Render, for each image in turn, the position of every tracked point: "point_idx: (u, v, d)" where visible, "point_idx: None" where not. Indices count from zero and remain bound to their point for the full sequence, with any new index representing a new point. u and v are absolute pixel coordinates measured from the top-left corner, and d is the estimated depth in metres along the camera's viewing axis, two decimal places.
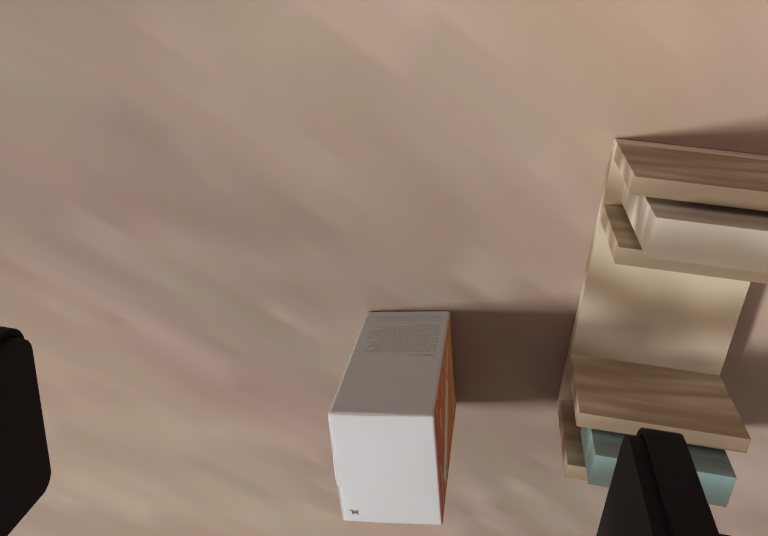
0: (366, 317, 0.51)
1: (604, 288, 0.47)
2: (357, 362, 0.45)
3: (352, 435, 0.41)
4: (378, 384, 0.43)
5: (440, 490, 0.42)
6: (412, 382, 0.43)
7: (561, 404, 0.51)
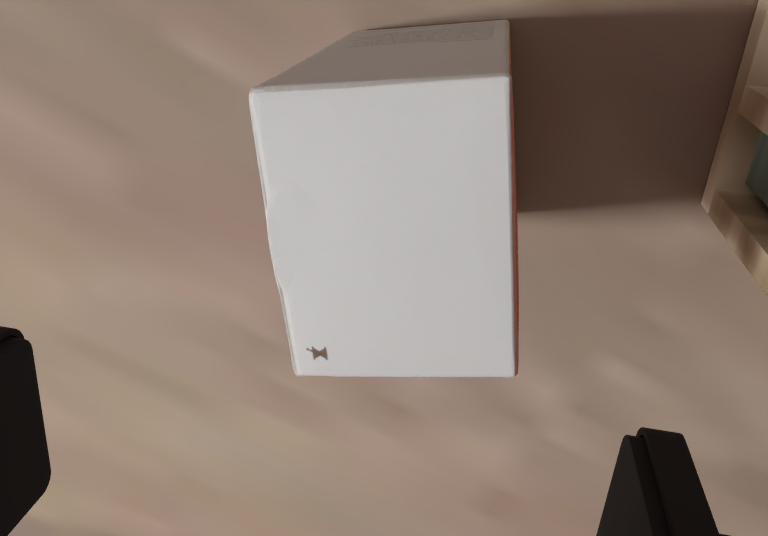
0: (351, 33, 0.27)
1: None
2: (329, 54, 0.21)
3: (308, 148, 0.17)
4: (371, 62, 0.19)
5: (516, 290, 0.18)
6: (448, 55, 0.19)
7: (719, 194, 0.27)
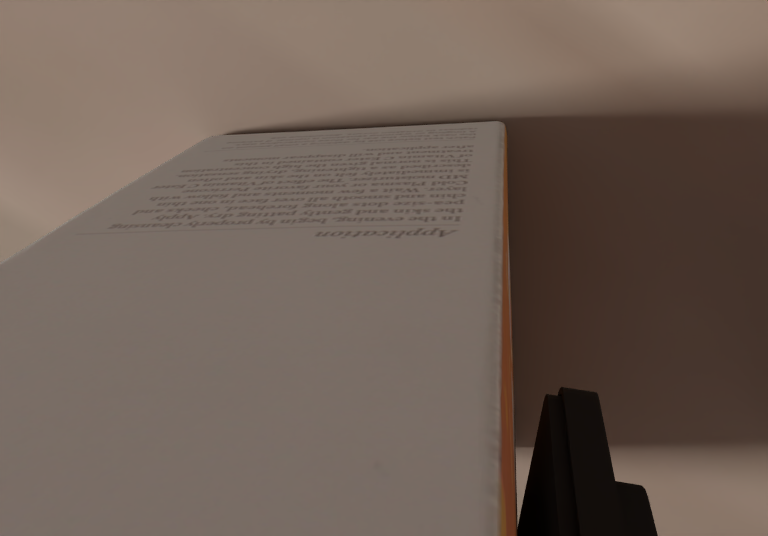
0: (196, 144, 0.14)
1: None
2: (26, 271, 0.08)
3: None
4: (26, 402, 0.05)
5: None
6: (289, 385, 0.05)
7: None
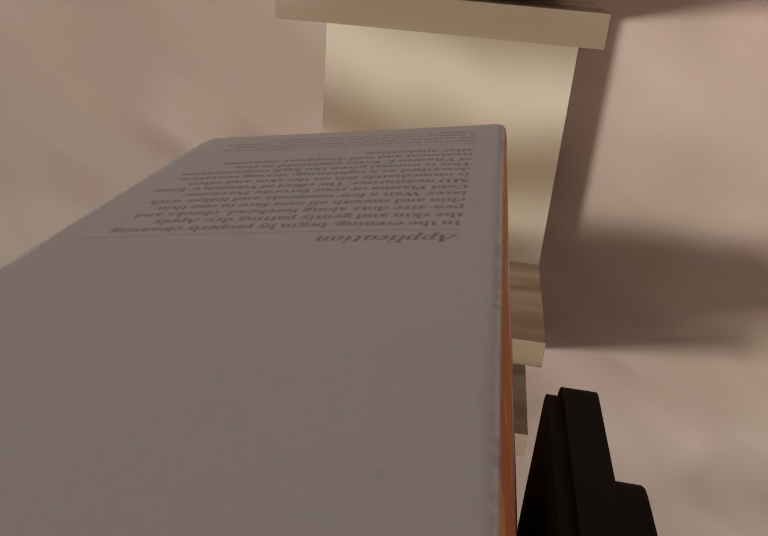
0: (196, 147, 0.14)
1: (351, 124, 0.30)
2: (27, 275, 0.08)
3: None
4: (28, 408, 0.05)
5: None
6: (290, 392, 0.05)
7: None
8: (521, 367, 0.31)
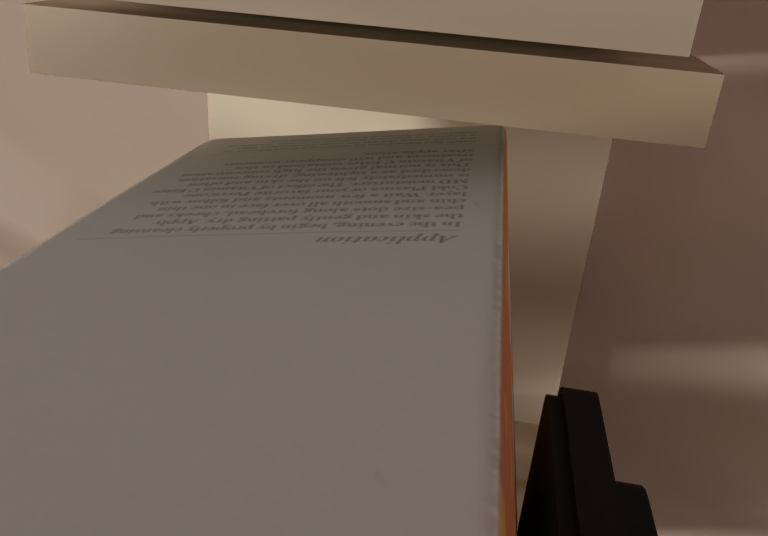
0: (197, 148, 0.14)
1: None
2: (28, 277, 0.08)
3: None
4: (28, 410, 0.05)
5: None
6: (291, 393, 0.05)
7: None
8: None
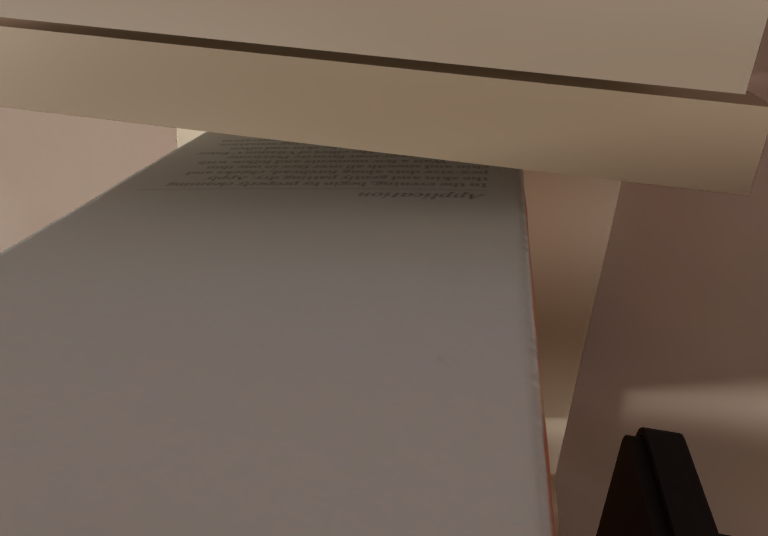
0: None
1: None
2: (101, 218, 0.09)
3: None
4: (132, 313, 0.06)
5: None
6: (357, 304, 0.06)
7: None
8: None
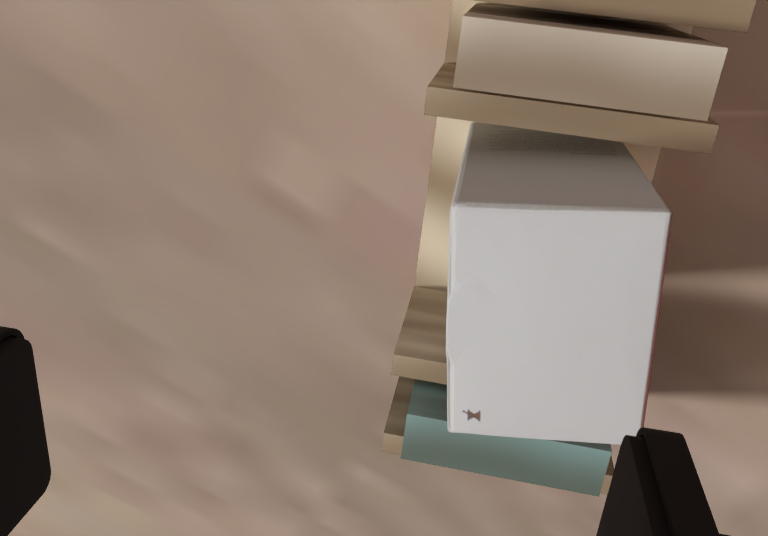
0: (473, 125, 0.31)
1: (453, 190, 0.34)
2: (481, 158, 0.25)
3: (494, 253, 0.21)
4: (534, 177, 0.23)
5: (649, 376, 0.22)
6: (598, 176, 0.23)
7: None
8: None
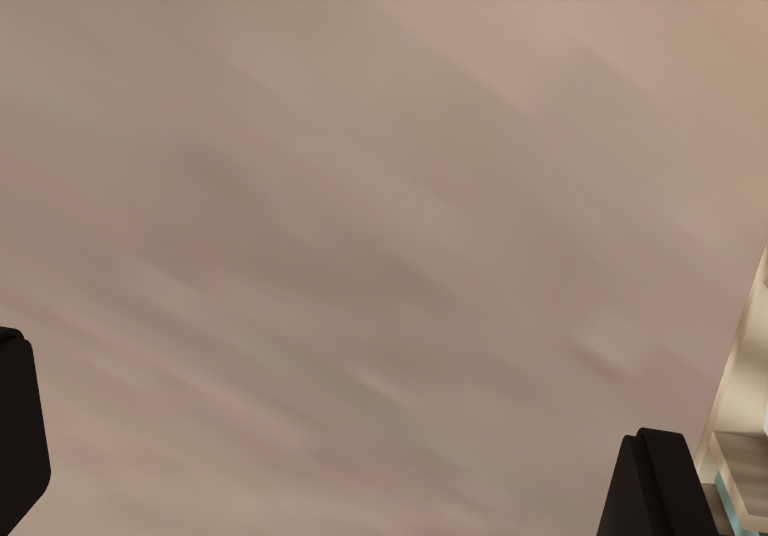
0: None
1: (760, 360, 0.40)
2: None
3: None
4: None
5: None
6: None
7: None
8: None
